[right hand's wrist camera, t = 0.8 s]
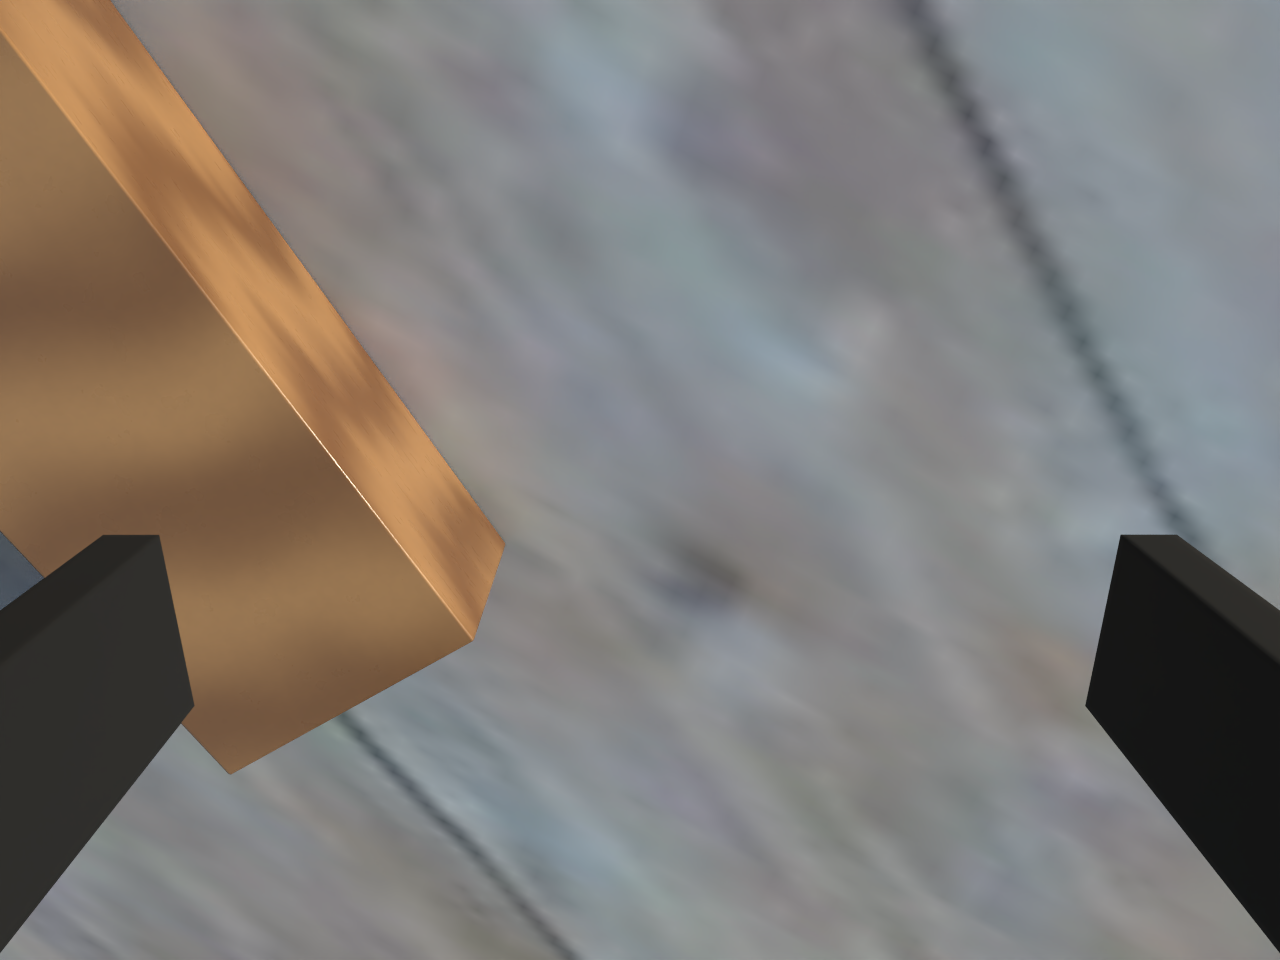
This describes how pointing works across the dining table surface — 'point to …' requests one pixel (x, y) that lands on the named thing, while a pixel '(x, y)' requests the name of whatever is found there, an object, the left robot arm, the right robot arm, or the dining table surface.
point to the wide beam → (207, 401)
